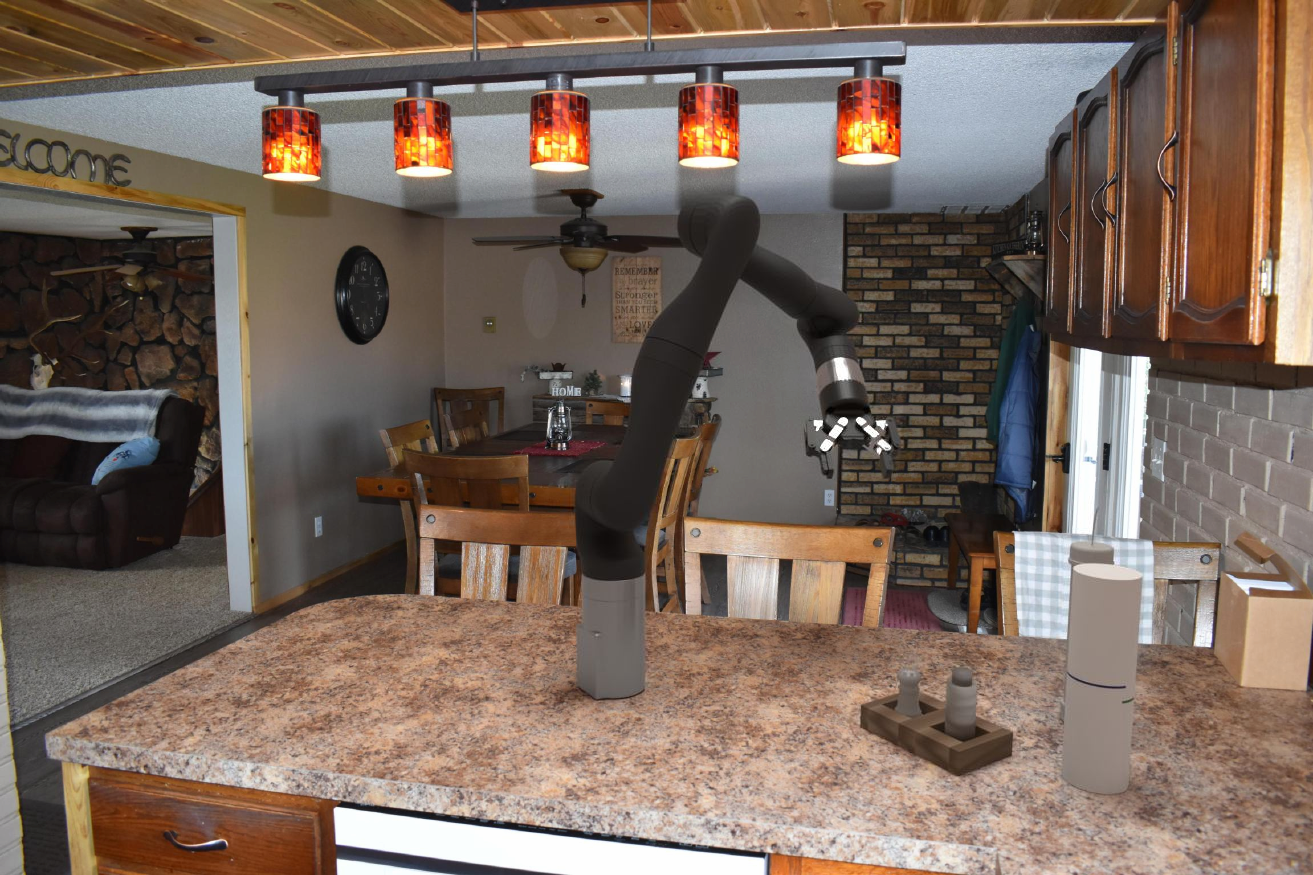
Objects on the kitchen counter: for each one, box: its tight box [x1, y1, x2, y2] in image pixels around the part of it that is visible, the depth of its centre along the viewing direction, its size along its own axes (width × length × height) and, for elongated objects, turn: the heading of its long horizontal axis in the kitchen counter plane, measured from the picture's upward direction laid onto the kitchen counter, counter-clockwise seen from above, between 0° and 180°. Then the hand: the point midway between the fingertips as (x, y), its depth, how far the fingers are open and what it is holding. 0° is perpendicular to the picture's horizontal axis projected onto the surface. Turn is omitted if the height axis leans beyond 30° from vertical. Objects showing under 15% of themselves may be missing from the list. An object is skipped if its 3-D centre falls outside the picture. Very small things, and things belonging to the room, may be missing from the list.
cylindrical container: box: [1060, 563, 1144, 795], centre depth 106 cm, size 7×7×25 cm
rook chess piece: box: [895, 666, 923, 718], centre depth 121 cm, size 4×4×8 cm
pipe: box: [1059, 506, 1115, 723], centre depth 121 cm, size 6×6×30 cm
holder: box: [859, 666, 1014, 777], centre depth 117 cm, size 16×10×11 cm, turn 32°
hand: (859, 475), depth 136 cm, fingers open, 8 cm apart
